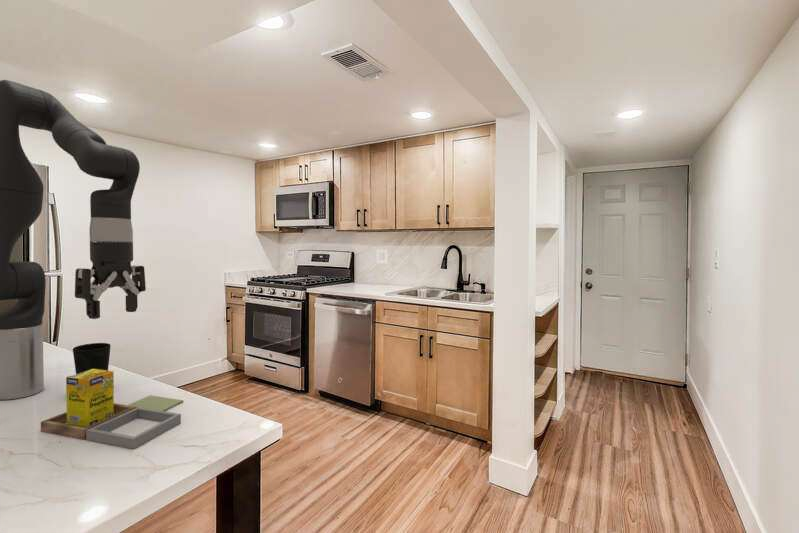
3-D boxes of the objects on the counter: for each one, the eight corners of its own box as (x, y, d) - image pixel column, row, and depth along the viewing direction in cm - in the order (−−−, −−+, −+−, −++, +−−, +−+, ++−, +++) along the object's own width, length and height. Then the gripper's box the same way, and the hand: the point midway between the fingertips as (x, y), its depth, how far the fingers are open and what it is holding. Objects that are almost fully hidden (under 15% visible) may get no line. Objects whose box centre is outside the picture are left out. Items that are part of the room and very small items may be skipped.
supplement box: (89, 431, 82) (88, 379, 81) (65, 427, 83) (64, 376, 82) (115, 418, 88) (114, 370, 87) (92, 415, 89) (92, 368, 88)
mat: (120, 409, 92) (120, 407, 92) (150, 397, 100) (150, 395, 100) (156, 415, 90) (156, 413, 90) (183, 402, 98) (183, 400, 98)
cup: (66, 394, 100) (65, 348, 99) (99, 385, 107) (98, 341, 106) (85, 400, 97) (84, 352, 96) (117, 390, 104) (117, 345, 103)
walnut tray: (40, 431, 81) (40, 421, 81) (96, 408, 92) (96, 400, 92) (84, 439, 78) (84, 430, 78) (136, 415, 90) (136, 406, 90)
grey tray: (86, 440, 78) (86, 430, 78) (137, 415, 90) (137, 407, 90) (133, 449, 76) (133, 439, 76) (180, 422, 87) (180, 414, 87)
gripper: (127, 240, 92) (128, 309, 93) (63, 239, 79) (65, 319, 79) (154, 240, 91) (155, 310, 92) (93, 239, 77) (95, 322, 78)
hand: (113, 314), depth 85 cm, fingers open, 8 cm apart
